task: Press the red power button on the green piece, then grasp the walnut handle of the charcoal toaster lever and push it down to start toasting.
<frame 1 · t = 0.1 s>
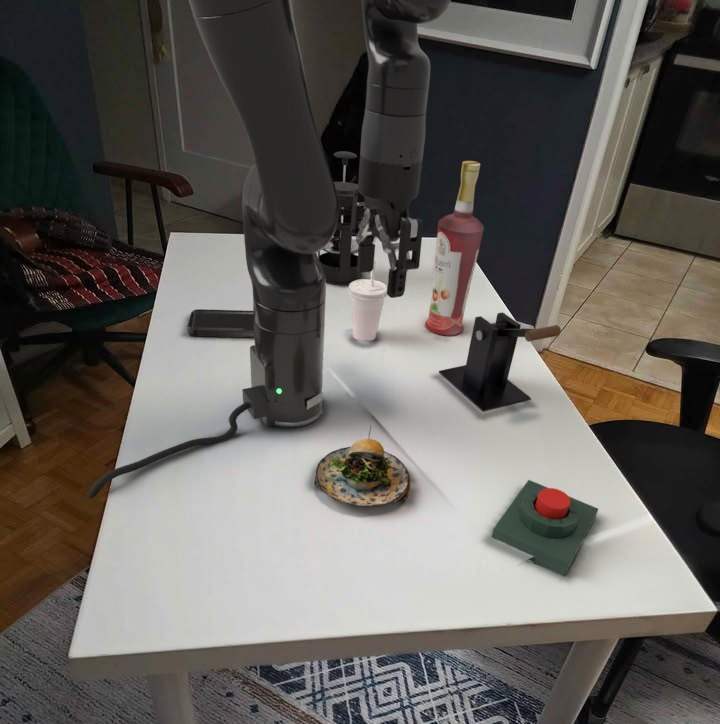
hand: (379, 283, 87), 17 cm above the table, tool pointing down, fingers open, 8 cm apart
liquor: (443, 333, 116), on the table
phone: (234, 327, 111), on the table
black stand: (482, 390, 101), on the table
green piece: (542, 531, 77), on the table
power button: (552, 503, 74), point 4 cm above the table, slide at 0.1 cm
french press: (339, 277, 131), on the table
burger: (362, 486, 81), on the table
smoothie: (363, 341, 111), on the table
toast lever: (516, 332, 90), point 12 cm above the table, hinge at 25.0°
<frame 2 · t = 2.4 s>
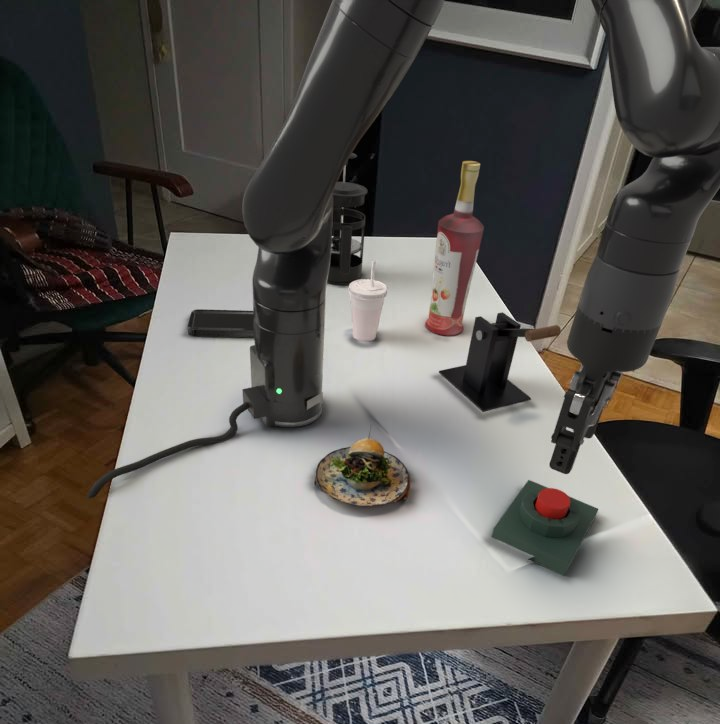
hand: (571, 451, 69), 12 cm above the table, tool pointing down, fingers open, 7 cm apart
nothing on the table moved.
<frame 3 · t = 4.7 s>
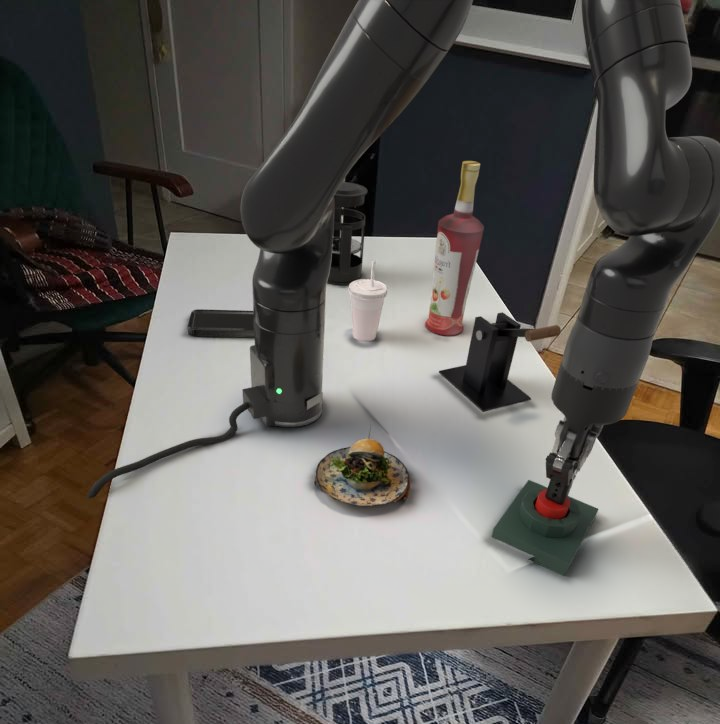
hand: (555, 498, 74), 5 cm above the table, tool pointing down, fingers closed
power button: (552, 505, 74), point 4 cm above the table, slide at -0.1 cm, touching gripper
everything else where it was.
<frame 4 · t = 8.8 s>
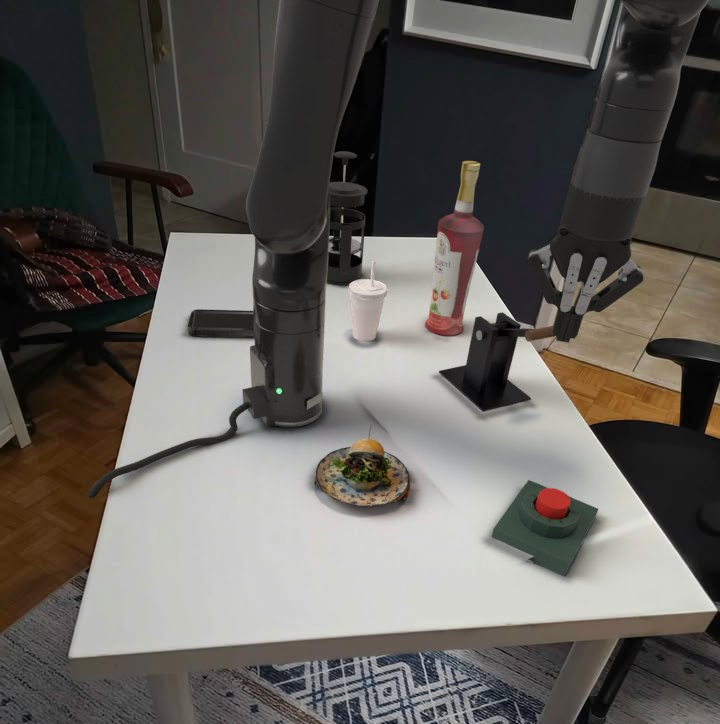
hand: (562, 338, 76), 18 cm above the table, tool pointing down, fingers closed
power button: (552, 503, 74), point 4 cm above the table, slide at 0.1 cm
everything else where it was.
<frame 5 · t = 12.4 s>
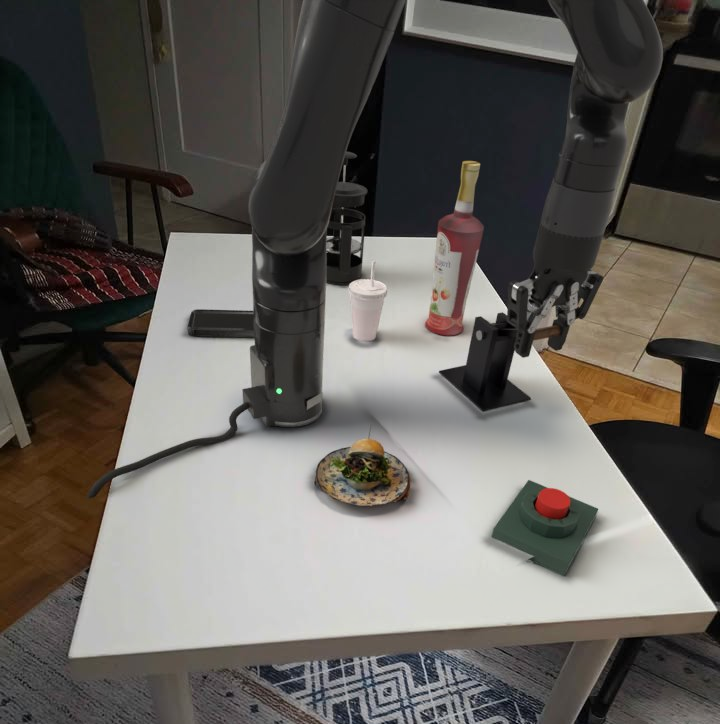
hand: (538, 350, 88), 12 cm above the table, tool pointing down, fingers closed on toast lever, 5 cm apart
toast lever: (516, 332, 90), point 12 cm above the table, hinge at 25.0°, touching gripper
everything else where it was.
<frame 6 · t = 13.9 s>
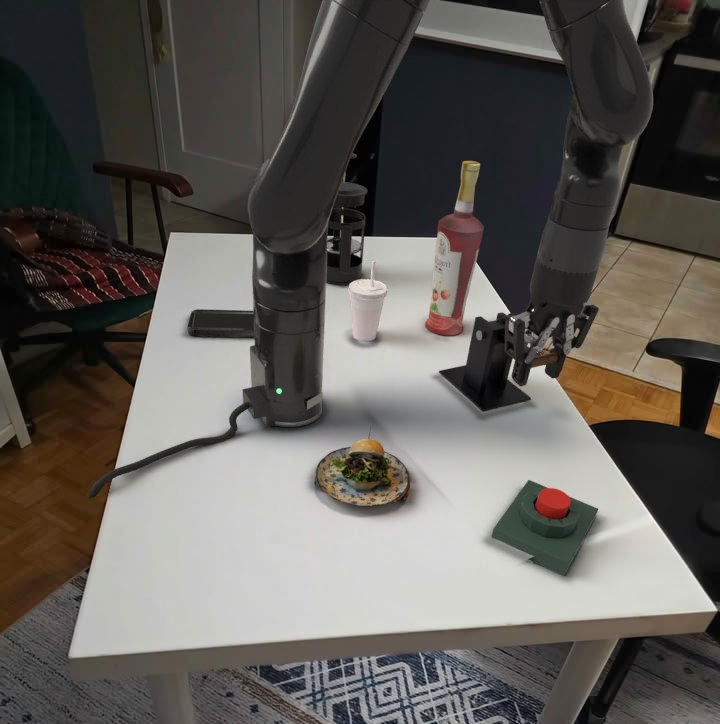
hand: (535, 378, 89), 8 cm above the table, tool pointing down, fingers closed on toast lever, 5 cm apart
toast lever: (515, 344, 91), point 10 cm above the table, hinge at 3.5°, touching gripper
everything else where it was.
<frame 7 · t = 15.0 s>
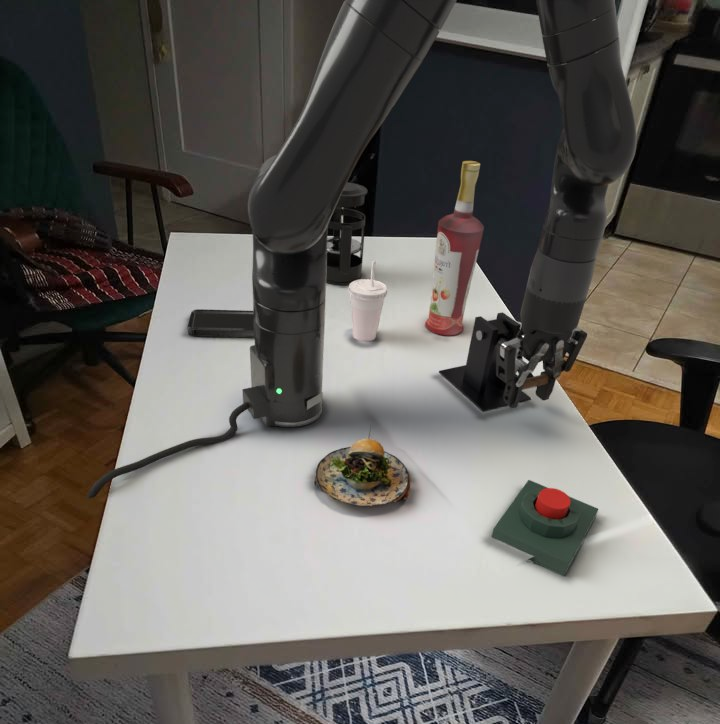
hand: (526, 400, 92), 4 cm above the table, tool pointing down, fingers closed on toast lever, 5 cm apart
toast lever: (512, 355, 93), point 9 cm above the table, hinge at -17.9°, touching gripper
everything else where it was.
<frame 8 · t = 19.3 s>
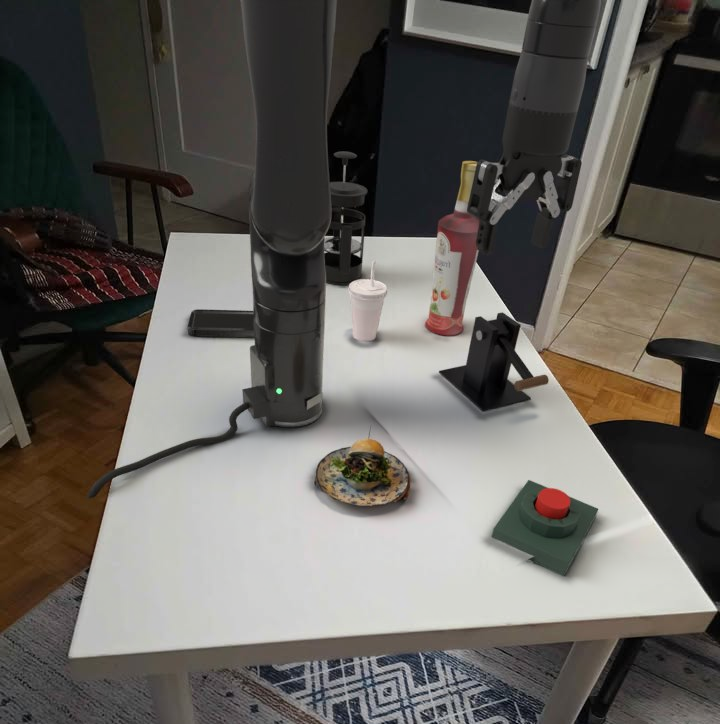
hand: (511, 249, 81), 24 cm above the table, tool pointing down, fingers open, 8 cm apart
toast lever: (511, 355, 93), point 9 cm above the table, hinge at -18.4°
everything else where it was.
at the end: power button pushed in 1.1 cm at the most during the clip, back to where it started at the end; power button slide at 0.1 cm; toast lever at -18° (first picture: +25°) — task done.
